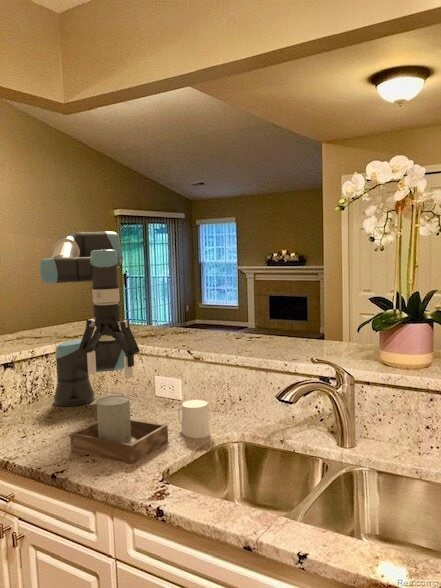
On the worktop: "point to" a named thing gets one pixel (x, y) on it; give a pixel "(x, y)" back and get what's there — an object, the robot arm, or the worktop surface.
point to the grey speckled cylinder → (114, 418)
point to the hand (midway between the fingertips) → (110, 375)
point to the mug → (194, 418)
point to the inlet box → (142, 442)
